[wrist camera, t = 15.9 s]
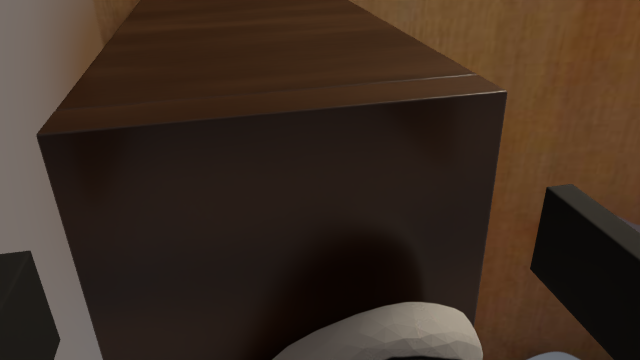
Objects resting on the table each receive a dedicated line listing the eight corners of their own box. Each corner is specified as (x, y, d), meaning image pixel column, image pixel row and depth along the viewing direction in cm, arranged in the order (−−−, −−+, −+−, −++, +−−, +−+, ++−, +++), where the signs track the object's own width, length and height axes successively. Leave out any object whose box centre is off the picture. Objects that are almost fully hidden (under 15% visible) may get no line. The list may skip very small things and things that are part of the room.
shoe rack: (151, -16, 46) (34, 134, 14) (308, -24, 48) (508, 91, 16) (200, 276, 60) (195, 671, 29) (318, 260, 62) (433, 609, 31)
